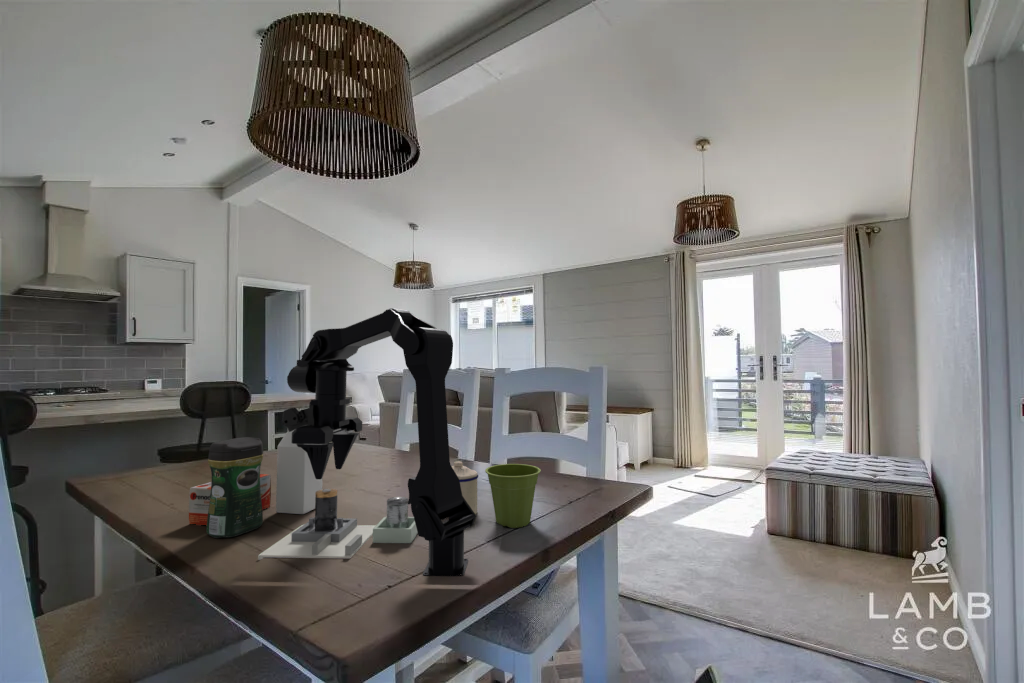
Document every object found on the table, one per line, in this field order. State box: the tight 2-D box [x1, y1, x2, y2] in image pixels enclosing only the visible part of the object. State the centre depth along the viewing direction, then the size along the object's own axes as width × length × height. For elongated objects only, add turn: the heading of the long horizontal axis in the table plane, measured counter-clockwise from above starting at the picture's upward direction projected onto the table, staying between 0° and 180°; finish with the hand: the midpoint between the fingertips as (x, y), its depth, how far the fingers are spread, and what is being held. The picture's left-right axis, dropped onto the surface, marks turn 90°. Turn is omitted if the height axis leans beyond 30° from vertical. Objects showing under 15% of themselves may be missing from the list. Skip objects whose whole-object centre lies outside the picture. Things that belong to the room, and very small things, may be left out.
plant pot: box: [484, 463, 542, 529], centre depth 102 cm, size 12×12×11 cm
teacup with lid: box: [451, 460, 479, 515], centre depth 109 cm, size 12×9×12 cm
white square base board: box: [257, 517, 377, 561], centre depth 90 cm, size 16×16×3 cm
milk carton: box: [275, 429, 323, 515], centre depth 112 cm, size 7×7×19 cm
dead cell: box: [386, 496, 409, 528], centre depth 93 cm, size 4×4×7 cm
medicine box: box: [188, 473, 272, 527], centre depth 107 cm, size 15×8×8 cm, turn 167°
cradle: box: [304, 516, 348, 532], centre depth 93 cm, size 6×6×3 cm
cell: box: [314, 488, 338, 531], centre depth 93 cm, size 4×4×7 cm
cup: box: [372, 516, 418, 544], centre depth 93 cm, size 7×7×3 cm
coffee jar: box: [206, 436, 264, 539], centre depth 97 cm, size 10×8×19 cm
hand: (329, 473), depth 94 cm, fingers open, 8 cm apart
